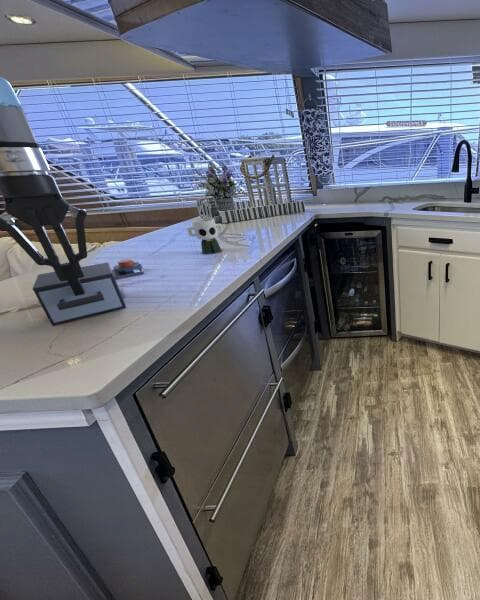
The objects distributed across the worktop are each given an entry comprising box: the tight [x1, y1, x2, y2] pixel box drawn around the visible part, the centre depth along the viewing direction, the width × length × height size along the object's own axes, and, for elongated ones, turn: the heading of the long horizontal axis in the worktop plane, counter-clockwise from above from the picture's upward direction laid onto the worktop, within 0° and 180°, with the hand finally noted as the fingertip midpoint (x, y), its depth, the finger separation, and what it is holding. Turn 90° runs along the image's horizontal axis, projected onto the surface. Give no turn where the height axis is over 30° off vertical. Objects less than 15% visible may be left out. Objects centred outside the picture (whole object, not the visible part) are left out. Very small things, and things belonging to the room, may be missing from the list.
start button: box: [117, 258, 135, 267], centre depth 96 cm, size 4×4×2 cm
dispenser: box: [32, 262, 127, 327], centre depth 75 cm, size 14×13×9 cm
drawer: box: [38, 278, 122, 323], centre depth 72 cm, size 17×11×7 cm, turn 43°
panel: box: [111, 261, 145, 281], centre depth 96 cm, size 12×10×4 cm
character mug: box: [187, 218, 224, 255], centre depth 116 cm, size 11×7×13 cm, turn 128°
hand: (79, 293), depth 68 cm, fingers closed
